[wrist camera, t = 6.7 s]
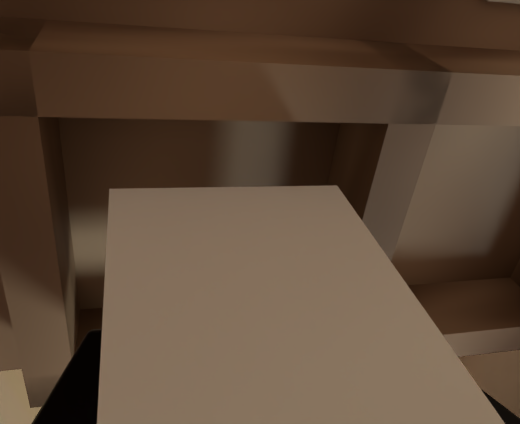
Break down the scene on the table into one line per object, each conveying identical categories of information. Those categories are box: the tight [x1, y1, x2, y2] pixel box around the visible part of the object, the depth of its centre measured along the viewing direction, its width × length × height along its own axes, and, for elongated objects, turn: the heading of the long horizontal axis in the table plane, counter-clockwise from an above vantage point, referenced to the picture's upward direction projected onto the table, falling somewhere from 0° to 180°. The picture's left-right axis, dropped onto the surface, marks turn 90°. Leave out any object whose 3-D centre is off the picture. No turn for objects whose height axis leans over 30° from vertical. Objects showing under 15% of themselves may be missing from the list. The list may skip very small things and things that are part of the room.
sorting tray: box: [0, 0, 520, 408], centre depth 11 cm, size 18×14×3 cm
